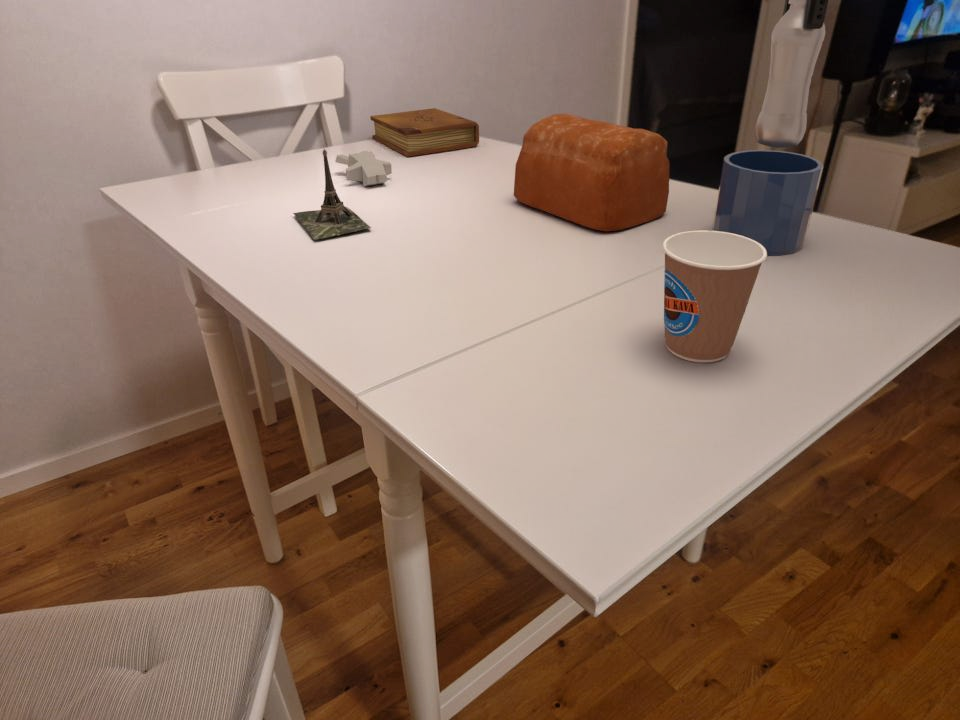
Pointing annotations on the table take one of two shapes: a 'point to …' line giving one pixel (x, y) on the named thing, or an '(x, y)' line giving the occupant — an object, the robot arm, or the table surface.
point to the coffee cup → (707, 291)
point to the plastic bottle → (789, 79)
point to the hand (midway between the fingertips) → (800, 26)
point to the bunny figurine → (365, 168)
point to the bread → (593, 172)
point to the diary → (425, 131)
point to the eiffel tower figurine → (330, 213)
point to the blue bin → (768, 198)
